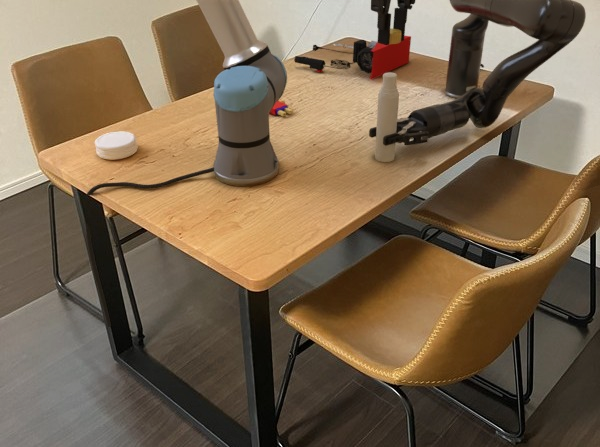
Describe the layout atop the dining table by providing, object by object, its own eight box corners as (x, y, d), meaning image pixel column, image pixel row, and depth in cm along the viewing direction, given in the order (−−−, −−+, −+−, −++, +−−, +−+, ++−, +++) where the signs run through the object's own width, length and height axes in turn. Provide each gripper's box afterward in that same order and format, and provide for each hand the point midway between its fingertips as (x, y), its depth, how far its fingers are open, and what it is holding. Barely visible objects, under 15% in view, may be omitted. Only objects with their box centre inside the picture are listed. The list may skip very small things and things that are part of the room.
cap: (393, 45, 133) (394, 35, 132) (376, 41, 136) (377, 31, 134) (404, 40, 136) (405, 30, 135) (388, 37, 138) (389, 27, 137)
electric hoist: (293, 36, 204) (372, 51, 189) (336, 22, 223) (412, 35, 208) (292, 67, 209) (370, 83, 194) (335, 51, 228) (409, 65, 213)
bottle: (373, 161, 149) (378, 77, 138) (375, 152, 153) (380, 70, 142) (393, 162, 148) (399, 78, 137) (395, 154, 152) (401, 71, 141)
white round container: (108, 164, 149) (105, 151, 148) (90, 151, 156) (87, 138, 154) (145, 152, 155) (143, 139, 153) (126, 139, 161) (123, 127, 159)
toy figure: (296, 106, 174) (268, 92, 181) (278, 112, 170) (250, 99, 177) (296, 114, 176) (268, 100, 183) (278, 121, 172) (250, 107, 179)
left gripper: (384, -71, 116) (376, 53, 129) (441, -79, 126) (429, 37, 138) (355, -74, 121) (350, 45, 133) (412, -82, 130) (403, 30, 143)
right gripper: (413, 98, 157) (359, 112, 150) (453, 116, 147) (397, 133, 139) (411, 125, 161) (358, 141, 154) (450, 145, 151) (395, 163, 143)
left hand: (390, 41), depth 136 cm, fingers closed on cap, 4 cm apart
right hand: (377, 137), depth 146 cm, fingers closed on bottle, 4 cm apart
